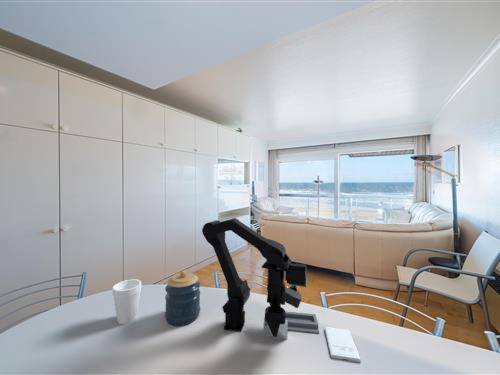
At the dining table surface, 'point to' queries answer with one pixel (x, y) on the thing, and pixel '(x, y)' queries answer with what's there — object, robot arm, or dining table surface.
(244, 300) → the robot arm
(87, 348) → the dining table surface
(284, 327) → the block
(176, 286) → the canister
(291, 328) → the dock
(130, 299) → the foam cup
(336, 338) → the external hard drive
